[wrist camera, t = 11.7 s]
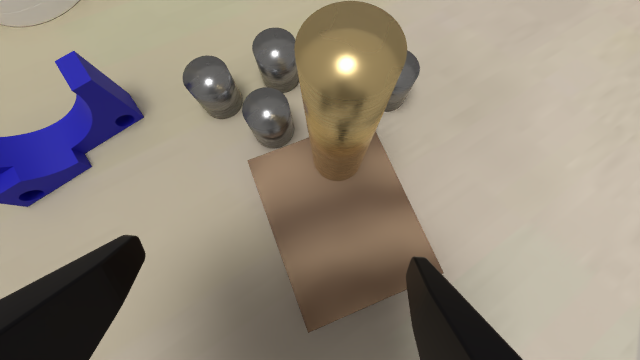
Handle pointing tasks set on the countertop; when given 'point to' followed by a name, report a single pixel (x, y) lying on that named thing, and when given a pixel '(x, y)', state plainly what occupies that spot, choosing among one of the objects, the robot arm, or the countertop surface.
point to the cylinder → (32, 11)
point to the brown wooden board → (339, 230)
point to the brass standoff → (347, 80)
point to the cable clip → (65, 135)
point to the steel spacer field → (268, 87)
